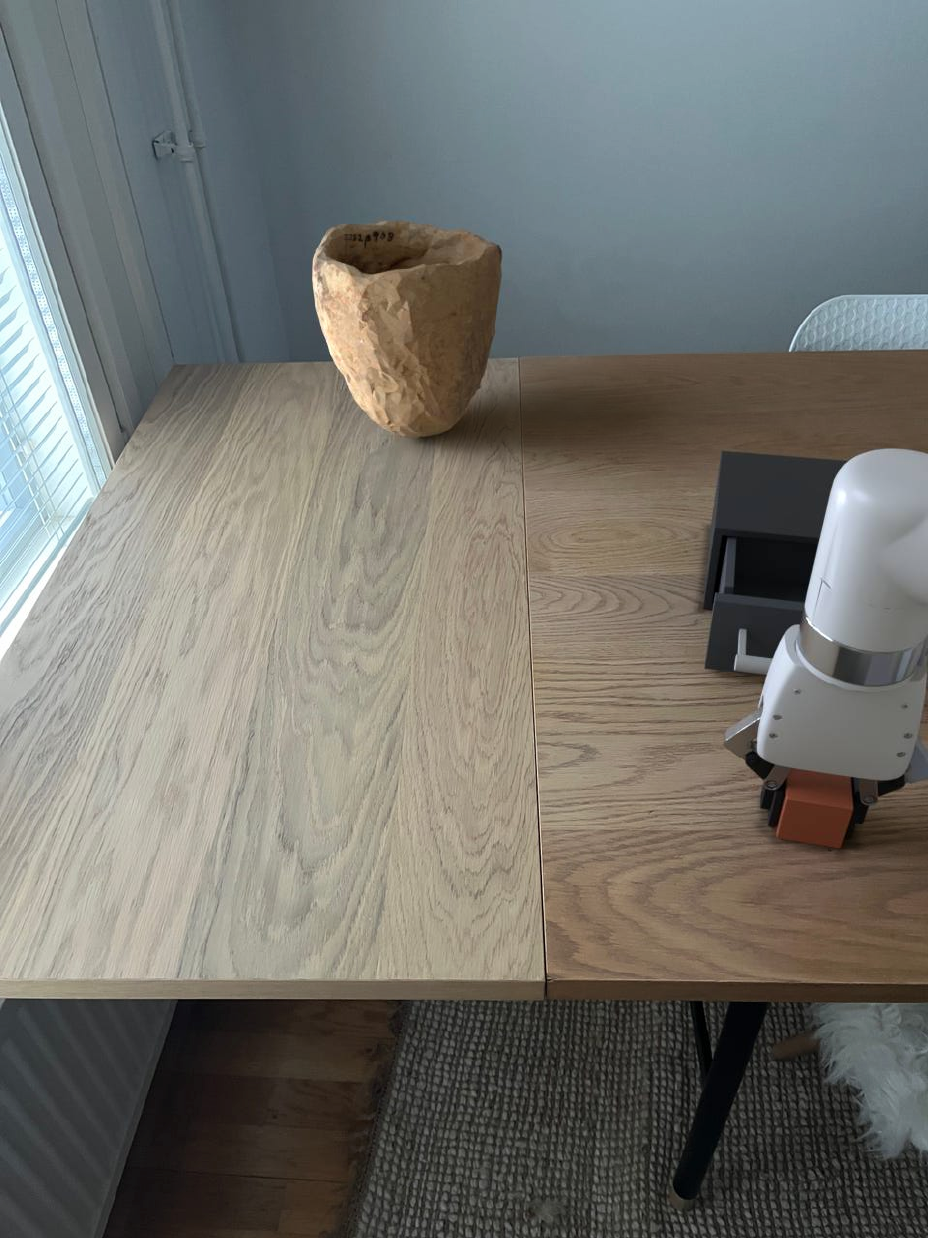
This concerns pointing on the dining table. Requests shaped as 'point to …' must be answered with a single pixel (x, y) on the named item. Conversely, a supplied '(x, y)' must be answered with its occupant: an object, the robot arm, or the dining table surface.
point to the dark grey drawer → (757, 602)
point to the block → (815, 808)
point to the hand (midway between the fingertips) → (808, 816)
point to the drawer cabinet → (767, 503)
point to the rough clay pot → (408, 318)
